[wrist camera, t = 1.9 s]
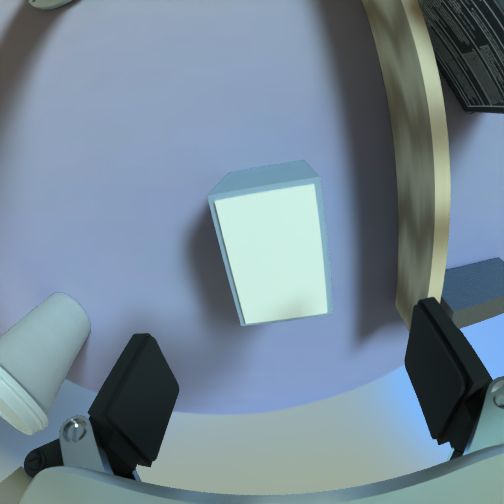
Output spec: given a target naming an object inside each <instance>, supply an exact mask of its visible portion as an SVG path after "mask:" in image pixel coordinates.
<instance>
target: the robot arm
mask: <svg viewBox="0 0 504 504" xmlns="http://www.w3.org/2000/svg"><path fill="white" fill-rule="evenodd" d="M70 1H72V0H29V2H30V4H31V5H32V6H34V7H36V8H40V9H44V10H47V9H54V8H57V7H60V6H62V5H64V4H67V3H69V2H70ZM405 368H406V370H407V373H408V375H409V378H410V380H411V383H412V385H413V388H414V390H415V393H416V395H417V398H418V401H419V403H420V406H421V408H422V411H423V414H424V417H425V420H426V422H427V425H428V428H429V431H430V434H431V437H432V438H433V439H437V442H438V445H441V444H444V443H446V442H450V445H451V447H452V450H451V452H450V455H449V457H448V459H447V461H446V462H444V463H441V464H439V465H436V466H433V467H431V468H427V469H424V470H421V471H417V472H414V473H411V474H408V475H404V476H401V477H397V478H393V479H389V480H385V481H381V482H376V483H372V484H367V485H363V486H358V487H352V488H346V489H339V490H332V491H325V492H316V493H305V494H291V495H232V494H217V493H206V492H197V491H189V490H182V489H176V488H170V487H164V486H159V485H154V484H149V483H145V482H142V481H141V479H140V477H139V475H138V473H137V471H136V466H137V464H138V465H141V466H146V467H151V464H152V461H155V460H156V458H157V456H158V452H159V450H160V446H161V443H162V440H163V437H164V434H165V431H166V428H167V425H168V422H169V419H170V416H171V414H172V411H173V408H174V405H175V402H176V399H177V396H178V393H179V385H178V383H177V381H176V379H175V377H174V375H173V373H172V371H171V370H170V368H169V366H168V364H167V362H166V360H165V358H164V356H163V354H162V352H161V350H160V348H159V346H158V344H157V342H156V340H155V338H154V337H151V335H150V334H148V333H144V334H134V335H133V336H132V338H131V339H130V341H129V342H128V344H127V346H126V347H125V349H124V351H123V352H122V354H121V355H120V357H119V359H118V360H117V362H116V364H115V365H114V367H113V369H112V371H111V372H110V374H109V376H108V377H107V379H106V381H105V382H104V384H103V386H102V388H101V389H100V391H99V393H98V395H97V396H96V398H95V400H94V402H93V404H92V405H91V407H90V409H89V411H88V414H89V415H90V417H89V419H88V418H86V417H85V416H82V415H76V416H73V417H71V418H69V419H67V420H66V421H65V422H64V423H63V425H62V426H61V428H60V431H59V439H57V440H54V441H52V442H50V443H48V444H45V445H43V446H41V447H39V448H36V449H34V450H33V451H31V452H30V453H29V454H28V455H27V456H26V458H25V461H24V468H23V467H22V466H21V467H19V468H18V469H17V470H16V471H14V472H13V473H12V474H11V475H9V476H8V477H7V478H6V479H4V480H3V481H2V482H1V483H0V504H504V376H502V377H498V378H496V379H495V380H493V379H492V378H491V376H490V374H489V373H488V371H487V370H486V368H485V366H484V365H483V363H482V362H481V360H480V358H479V357H478V356H477V354H476V352H475V351H474V349H473V348H472V346H471V345H470V343H469V342H468V341H467V339H466V337H465V336H464V335H463V333H462V332H461V331H460V329H458V328H457V327H456V325H455V324H454V322H453V321H452V320H451V318H450V317H449V316H448V314H447V313H446V311H445V310H444V309H443V307H442V306H441V305H440V303H439V302H438V301H437V300H436V298H435V297H429V298H425V299H420V300H418V303H417V305H414V307H413V313H412V320H411V327H410V333H409V339H408V345H407V350H406V355H405Z"/></svg>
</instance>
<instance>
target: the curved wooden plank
mask: <svg viewBox="0 0 504 504" xmlns="http://www.w3.org/2000/svg"><path fill="white" fill-rule="evenodd" d="M362 3H363V5H364V8H365V11H366V14H367V18H368V21H369V24H370V27H371V31H372V34H373V38H374V42H375V45H376V49H377V53H378V57H379V61H380V66H381V70H382V75H383V79H384V84H385V90H386V95H387V101H388V106H389V113H390V119H391V126H392V134H393V142H394V151H395V162H396V175H397V191H398V271H397V287H396V300H395V307H396V308H397V310H398V312H399V314H400V316H401V317H402V319H403V321H404V323H405V325H406V327H407V328H408V330H409V332H410V327H411V320H412V313H413V307H414V305H417V303H418V300H420V299H425V298H429V297H435V298H436V300H437V301H438V302H439V303H440V300H441V294H442V288H443V282H444V275H445V267H446V259H447V250H448V238H449V223H450V157H449V142H448V131H447V122H446V114H445V106H444V100H443V94H442V88H441V83H440V78H439V73H438V68H437V64H436V59H435V55H434V51H433V47H432V44H431V40H430V37H429V33H428V30H427V27H426V23H425V20H424V17H423V14H422V11H421V9H420V6H419V3H418V0H362Z"/></svg>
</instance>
